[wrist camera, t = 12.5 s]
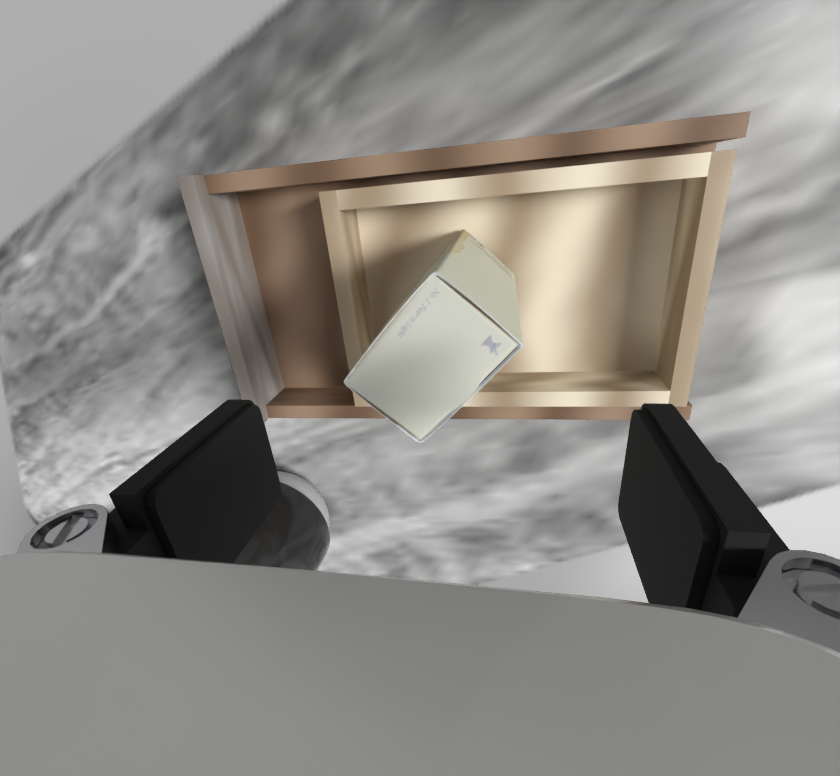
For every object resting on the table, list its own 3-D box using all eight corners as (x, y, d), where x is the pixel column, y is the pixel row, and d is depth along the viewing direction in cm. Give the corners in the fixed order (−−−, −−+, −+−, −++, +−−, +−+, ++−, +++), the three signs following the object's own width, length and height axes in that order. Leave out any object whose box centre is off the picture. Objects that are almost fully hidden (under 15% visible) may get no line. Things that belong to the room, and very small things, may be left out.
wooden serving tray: (711, 122, 23) (762, 108, 18) (666, 391, 30) (695, 428, 25) (227, 177, 28) (176, 176, 24) (281, 393, 35) (249, 424, 31)
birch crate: (699, 154, 23) (736, 149, 19) (663, 378, 28) (686, 406, 25) (342, 190, 27) (318, 191, 23) (371, 381, 32) (355, 406, 28)
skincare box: (463, 226, 25) (435, 259, 14) (518, 276, 26) (530, 343, 15) (399, 305, 28) (335, 381, 17) (450, 348, 29) (420, 448, 18)
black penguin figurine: (312, 557, 43) (225, 728, 29) (224, 498, 42) (90, 651, 28) (366, 500, 38) (293, 671, 25) (270, 432, 37) (137, 575, 24)
